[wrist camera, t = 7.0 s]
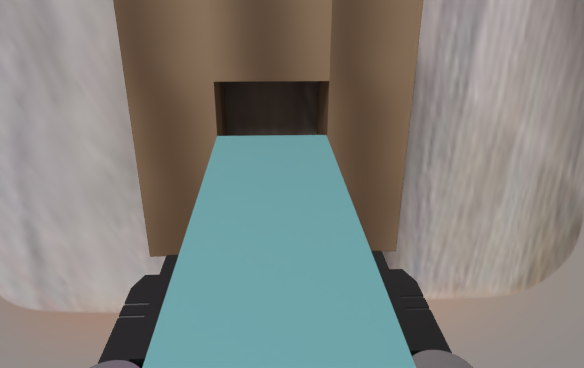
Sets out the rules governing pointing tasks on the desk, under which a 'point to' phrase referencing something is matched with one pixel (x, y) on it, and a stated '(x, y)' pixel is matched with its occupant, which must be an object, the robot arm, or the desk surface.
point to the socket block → (268, 67)
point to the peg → (276, 268)
